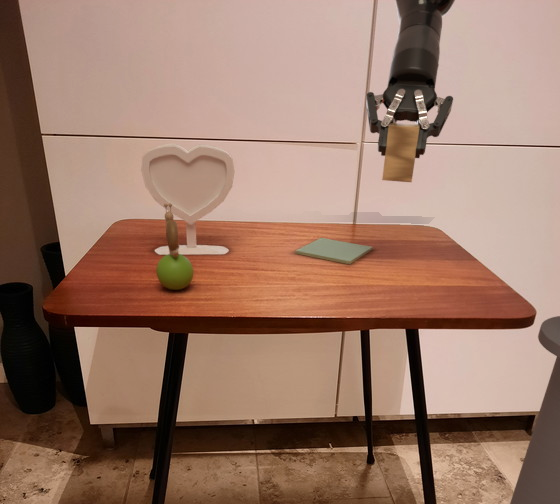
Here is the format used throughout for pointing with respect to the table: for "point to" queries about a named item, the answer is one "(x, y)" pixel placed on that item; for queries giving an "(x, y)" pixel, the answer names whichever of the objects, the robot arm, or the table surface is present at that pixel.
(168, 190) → the heart sculpture
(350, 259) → the square tile
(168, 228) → the green ball with handle
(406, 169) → the birch block
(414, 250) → the table surface
